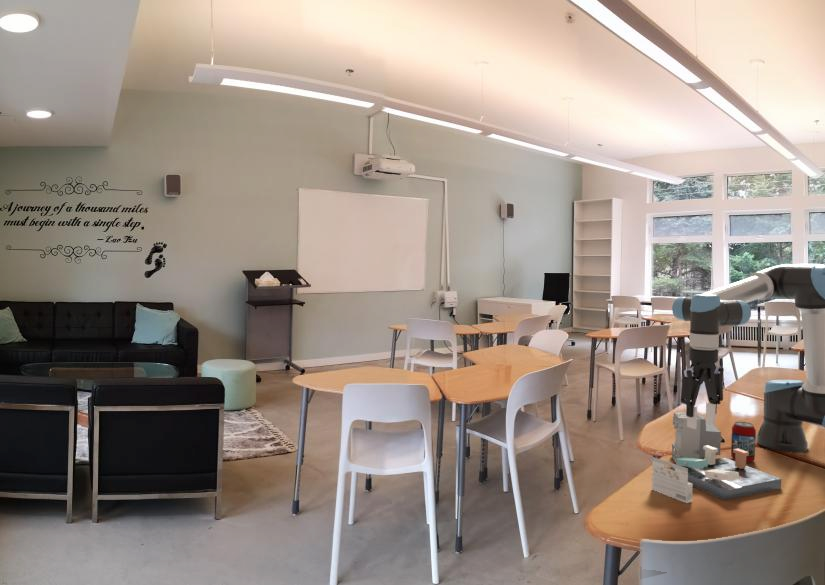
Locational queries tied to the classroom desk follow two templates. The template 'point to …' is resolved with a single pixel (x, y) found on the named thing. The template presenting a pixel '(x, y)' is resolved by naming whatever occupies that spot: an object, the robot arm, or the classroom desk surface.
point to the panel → (725, 490)
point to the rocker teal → (691, 462)
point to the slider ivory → (710, 454)
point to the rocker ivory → (722, 475)
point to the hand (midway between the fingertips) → (701, 426)
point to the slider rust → (740, 458)
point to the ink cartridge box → (671, 481)
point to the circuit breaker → (694, 437)
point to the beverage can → (744, 439)
